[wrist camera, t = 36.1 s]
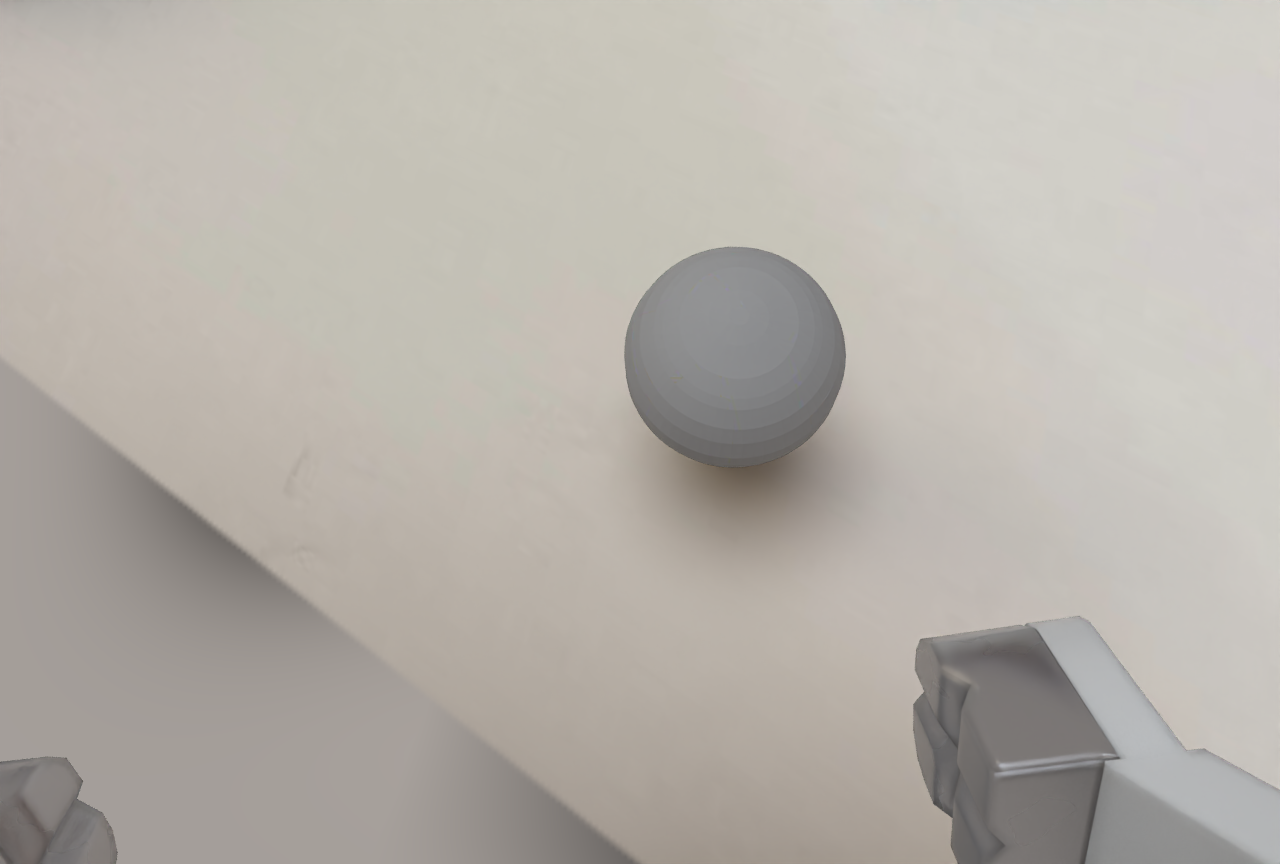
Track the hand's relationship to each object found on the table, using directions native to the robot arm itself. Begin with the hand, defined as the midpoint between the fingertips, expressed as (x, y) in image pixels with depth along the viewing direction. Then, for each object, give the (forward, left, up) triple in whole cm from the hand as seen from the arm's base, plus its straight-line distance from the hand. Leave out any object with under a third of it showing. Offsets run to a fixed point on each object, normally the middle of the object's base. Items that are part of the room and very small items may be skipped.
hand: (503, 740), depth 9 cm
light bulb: (+5, +8, -20) cm, 22 cm away
